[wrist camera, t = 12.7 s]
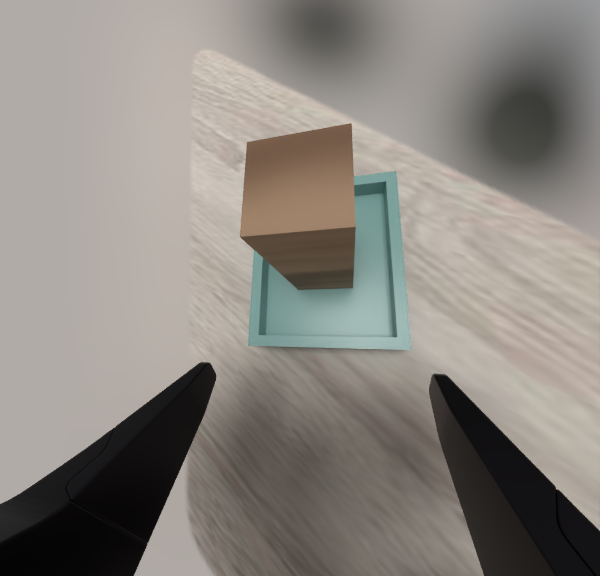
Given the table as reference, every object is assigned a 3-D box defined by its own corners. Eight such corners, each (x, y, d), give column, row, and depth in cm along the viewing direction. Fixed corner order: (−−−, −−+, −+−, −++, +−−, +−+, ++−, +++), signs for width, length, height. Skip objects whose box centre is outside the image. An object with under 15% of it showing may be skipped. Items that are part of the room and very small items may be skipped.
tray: (403, 348, 17) (411, 349, 15) (260, 344, 20) (248, 345, 17) (390, 190, 20) (396, 171, 18) (267, 204, 23) (257, 189, 20)
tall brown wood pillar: (353, 288, 18) (355, 226, 8) (298, 289, 19) (239, 236, 9) (351, 235, 19) (351, 123, 9) (298, 239, 20) (247, 142, 10)
